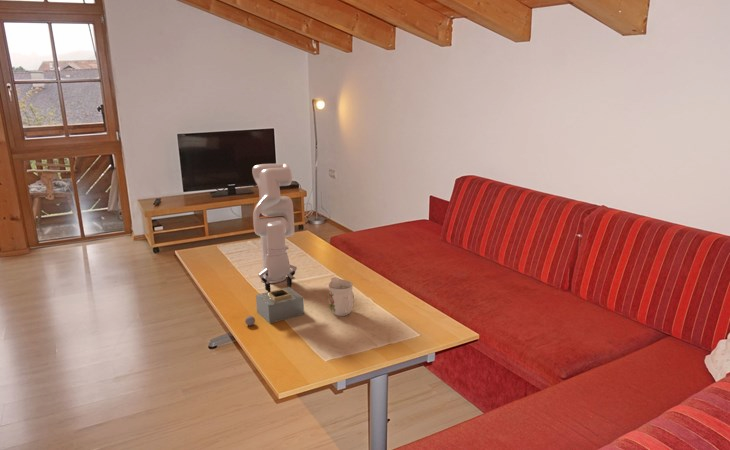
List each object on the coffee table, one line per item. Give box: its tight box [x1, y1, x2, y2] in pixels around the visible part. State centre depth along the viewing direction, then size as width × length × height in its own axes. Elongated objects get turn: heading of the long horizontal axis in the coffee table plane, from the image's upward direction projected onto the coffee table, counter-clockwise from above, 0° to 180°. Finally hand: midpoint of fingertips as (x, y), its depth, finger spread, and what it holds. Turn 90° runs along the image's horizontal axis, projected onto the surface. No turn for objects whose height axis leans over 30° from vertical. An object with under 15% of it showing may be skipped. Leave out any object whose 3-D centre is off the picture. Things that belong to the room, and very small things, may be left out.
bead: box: [244, 315, 256, 327], centre depth 225 cm, size 4×4×4 cm
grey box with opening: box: [255, 286, 305, 324], centre depth 235 cm, size 16×14×9 cm
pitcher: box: [327, 277, 355, 317], centre depth 233 cm, size 11×18×14 cm, turn 27°
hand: (278, 288), depth 233 cm, fingers open, 9 cm apart
